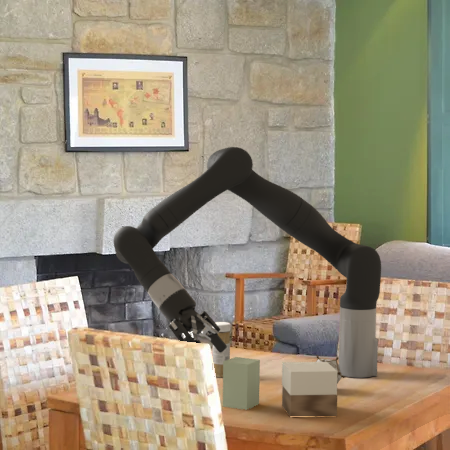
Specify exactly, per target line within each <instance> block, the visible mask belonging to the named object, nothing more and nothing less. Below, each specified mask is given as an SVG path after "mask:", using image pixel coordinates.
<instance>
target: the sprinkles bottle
mask: <svg viewBox="0 0 450 450" xmlns="http://www.w3.org/2000/svg"><path fill="white" fill-rule="evenodd" d="M214 322H215V321H214ZM215 323H216V324H217V326H218V327H219V328H220V331H219V332H218V335H219V337H220V338H221V339H222V341H223V342H224V343H225V344H226V346H227V348H226V349H225V350H224V351H223V352H221V353H220V352H219V351H218V350H217V349H216V348H215V346H214V345H213V344H212V349H211V351H212V356H213V362H214V368H215V373H216V378H223V361H226V360H229V359H231V341H230V339H231V337H230V335H231V334H230V333H231V323H230V322H227V321H216V322H215ZM211 327H212V328H214V327H213V326H212V325H211ZM214 329H215V328H214Z"/></svg>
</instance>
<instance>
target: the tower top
mask: <svg viewBox="0 0 450 450" xmlns="http://www.w3.org/2000/svg"><path fill="white" fill-rule="evenodd" d="M281 386H283V387H284V388H285V389H286V391H287V392H288V393H289V394H290V395H337V396H338V384H337V370H335V369H334V368H333V367H332V366H331V365H330V364H329V363H327V362H316V361H284V362H283V361H282V363H281Z"/></svg>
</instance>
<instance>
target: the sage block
mask: <svg viewBox="0 0 450 450" xmlns="http://www.w3.org/2000/svg"><path fill="white" fill-rule="evenodd" d="M260 363H261V360H260V359H257V358H247V357H241V356H240V357H239V356H235V357H232V358H231V357H230V359H229V360H226V361H223V377H222V407H224V408H229V409H230V408H231V409H236V408H237V409H238V410H243V409H245V410H244V411H248V410H250V409H252V408H255V407H256V405H257V406H258V404H259V405H260V376H261V375H260V374H261V372H260V371H261V369H260V368H261V364H260ZM254 406H255V407H254ZM249 408H250V409H249ZM247 409H248V410H247Z"/></svg>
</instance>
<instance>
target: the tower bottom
mask: <svg viewBox="0 0 450 450" xmlns="http://www.w3.org/2000/svg"><path fill="white" fill-rule="evenodd" d="M281 386H282V385H281ZM281 391H282V393H281V407H282V406H283V407H282V408H283V410H284V409H285V410H286V411H287V412H286V411H285V410H284V411H285V412H286V414H287V413H288V414H289V415H290V416H337V417H338V394H337V395H290V394H289V393H288V392H287V391H286V389H285V388H284V387H283V386H282V390H281ZM288 414H287V415H288ZM289 415H288V416H289Z"/></svg>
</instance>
